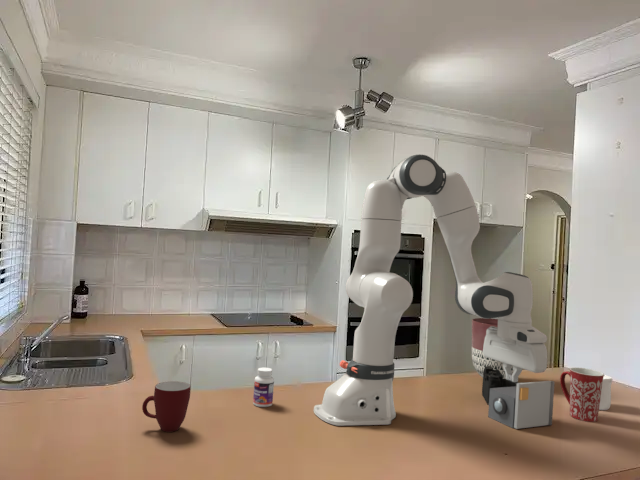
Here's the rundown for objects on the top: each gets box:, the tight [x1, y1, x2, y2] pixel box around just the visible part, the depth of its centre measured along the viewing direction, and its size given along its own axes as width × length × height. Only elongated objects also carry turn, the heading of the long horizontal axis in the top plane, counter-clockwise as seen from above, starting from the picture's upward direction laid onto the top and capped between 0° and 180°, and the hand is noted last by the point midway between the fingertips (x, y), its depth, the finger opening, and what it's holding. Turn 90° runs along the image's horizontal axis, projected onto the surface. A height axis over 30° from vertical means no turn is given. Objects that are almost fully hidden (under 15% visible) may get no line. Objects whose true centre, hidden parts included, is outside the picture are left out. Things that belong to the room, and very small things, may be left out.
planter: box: [471, 317, 523, 379], centre depth 184 cm, size 20×20×21 cm
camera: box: [481, 366, 519, 406], centre depth 160 cm, size 14×11×10 cm
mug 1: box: [141, 380, 192, 433], centre depth 119 cm, size 11×8×10 cm
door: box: [513, 380, 555, 430], centre depth 137 cm, size 13×2×12 cm, turn 115°
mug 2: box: [559, 367, 605, 423], centre depth 150 cm, size 13×9×14 cm
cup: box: [599, 374, 613, 411], centre depth 161 cm, size 10×10×10 cm
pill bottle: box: [252, 367, 275, 408], centre depth 141 cm, size 5×5×10 cm
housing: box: [487, 386, 517, 429], centre depth 141 cm, size 13×9×9 cm
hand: (511, 380), depth 142 cm, fingers closed
